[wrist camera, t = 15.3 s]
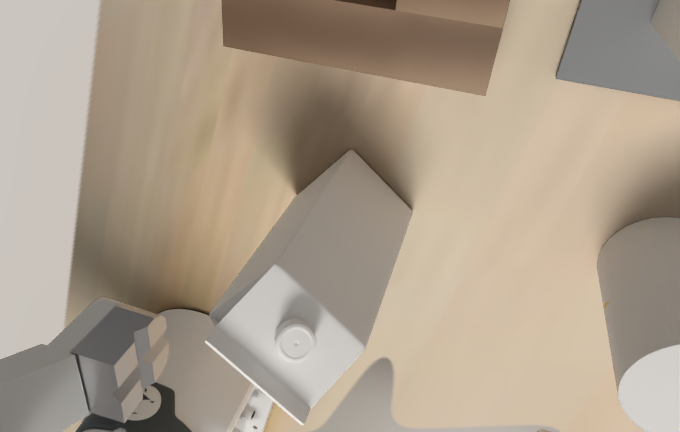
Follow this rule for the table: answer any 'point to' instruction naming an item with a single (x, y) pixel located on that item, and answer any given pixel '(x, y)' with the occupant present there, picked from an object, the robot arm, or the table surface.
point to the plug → (668, 24)
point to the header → (376, 36)
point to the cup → (644, 319)
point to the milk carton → (313, 287)
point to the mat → (620, 49)
